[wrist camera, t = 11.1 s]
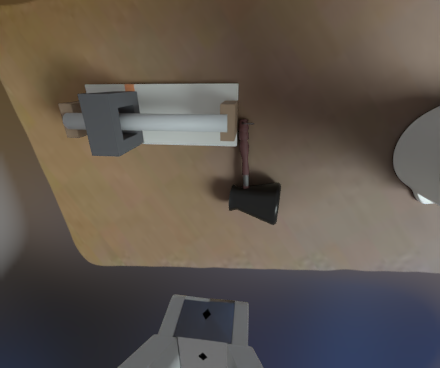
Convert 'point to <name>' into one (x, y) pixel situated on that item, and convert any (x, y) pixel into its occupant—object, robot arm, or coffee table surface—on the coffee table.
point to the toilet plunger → (254, 188)
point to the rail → (170, 113)
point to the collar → (109, 122)
